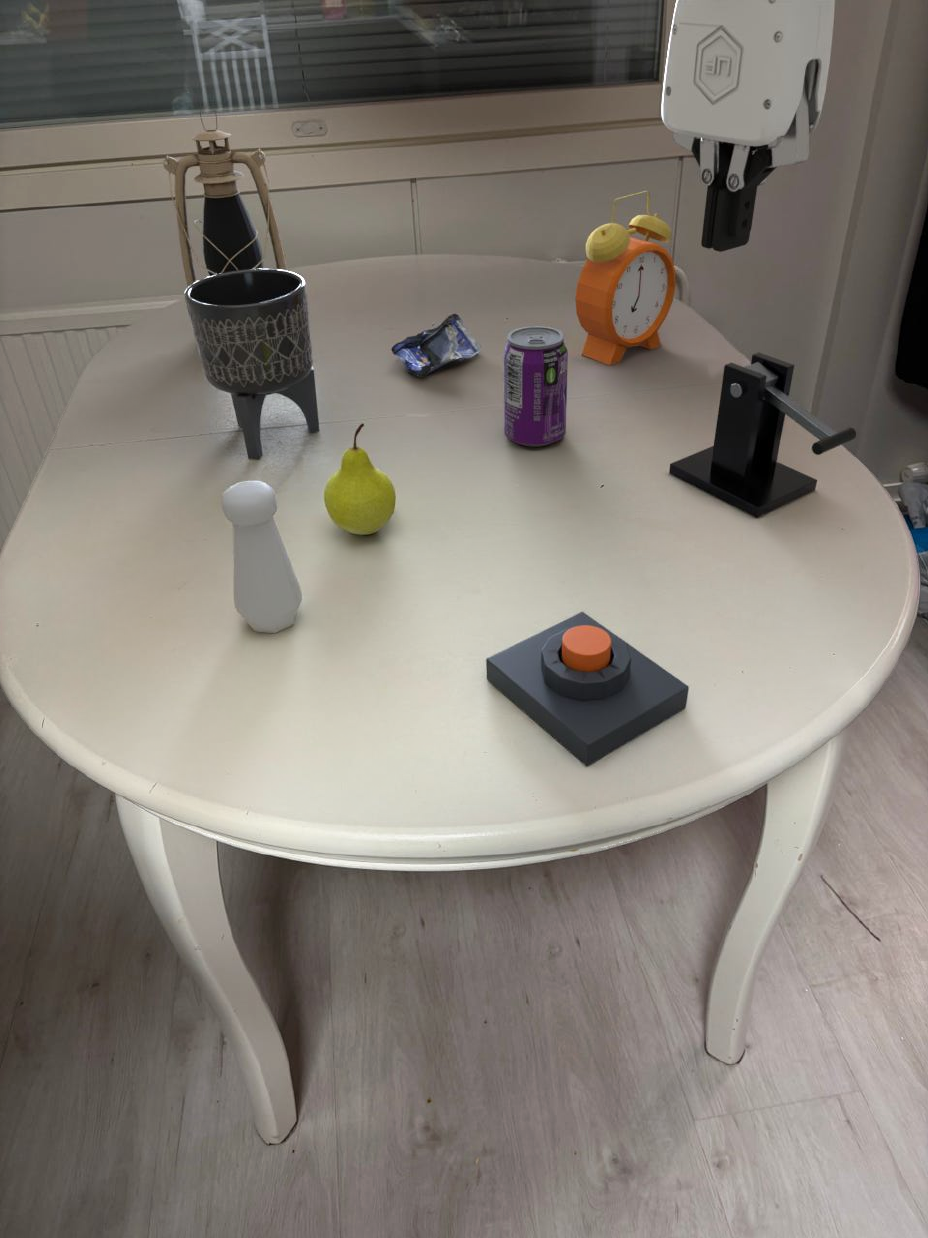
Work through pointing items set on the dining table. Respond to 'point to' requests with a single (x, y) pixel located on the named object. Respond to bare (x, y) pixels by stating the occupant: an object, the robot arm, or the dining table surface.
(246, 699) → the dining table surface
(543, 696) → the block
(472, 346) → the snack package
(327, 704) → the dining table surface
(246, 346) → the planter
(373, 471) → the fruit
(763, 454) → the switch bracket
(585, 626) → the button
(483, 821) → the dining table surface
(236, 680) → the dining table surface
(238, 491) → the salt shaker
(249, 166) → the lantern
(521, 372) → the beverage can
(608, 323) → the alarm clock
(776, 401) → the switch lever
